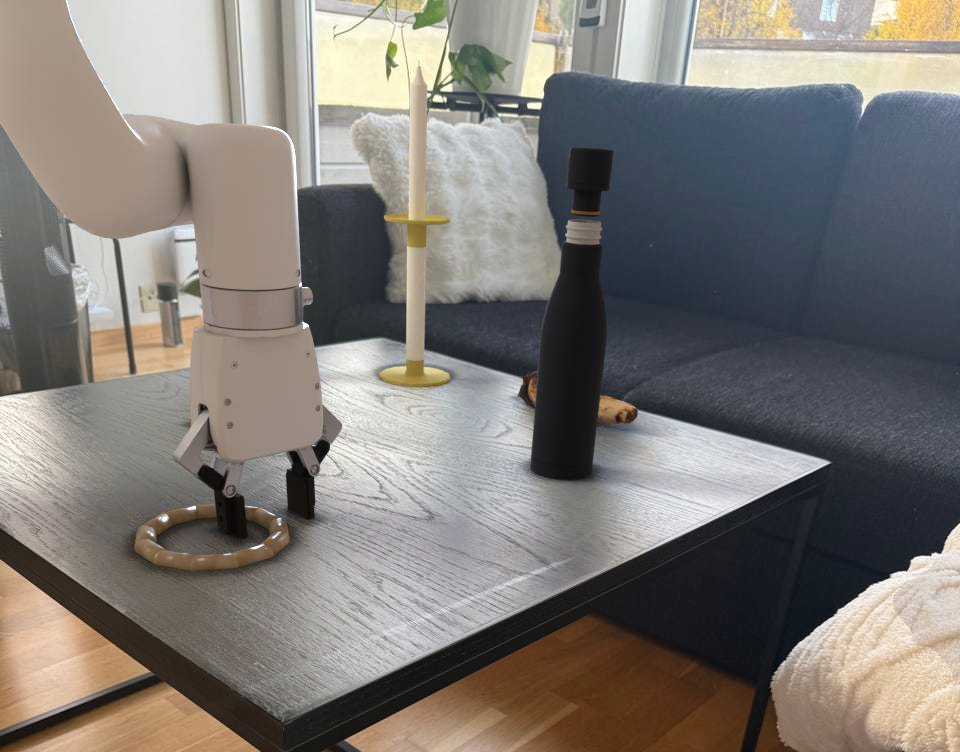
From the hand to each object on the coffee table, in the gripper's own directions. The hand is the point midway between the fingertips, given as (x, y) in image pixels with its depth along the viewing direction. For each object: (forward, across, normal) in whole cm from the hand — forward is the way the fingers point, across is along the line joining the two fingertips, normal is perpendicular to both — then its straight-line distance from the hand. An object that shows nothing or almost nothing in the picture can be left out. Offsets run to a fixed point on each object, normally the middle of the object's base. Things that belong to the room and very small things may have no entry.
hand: (268, 524), depth 79 cm
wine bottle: (+1, -32, +6) cm, 32 cm away
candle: (+1, -46, -33) cm, 56 cm away
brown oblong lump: (+1, -48, -7) cm, 48 cm away
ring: (0, +5, 0) cm, 5 cm away
